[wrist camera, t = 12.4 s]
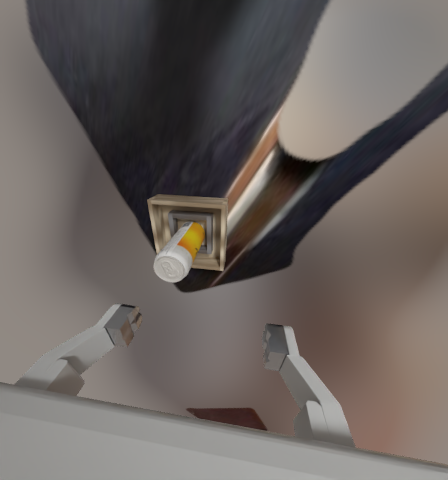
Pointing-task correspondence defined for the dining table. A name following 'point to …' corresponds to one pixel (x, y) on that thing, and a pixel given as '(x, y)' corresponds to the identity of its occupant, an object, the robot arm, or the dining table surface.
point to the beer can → (179, 252)
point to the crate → (192, 210)
